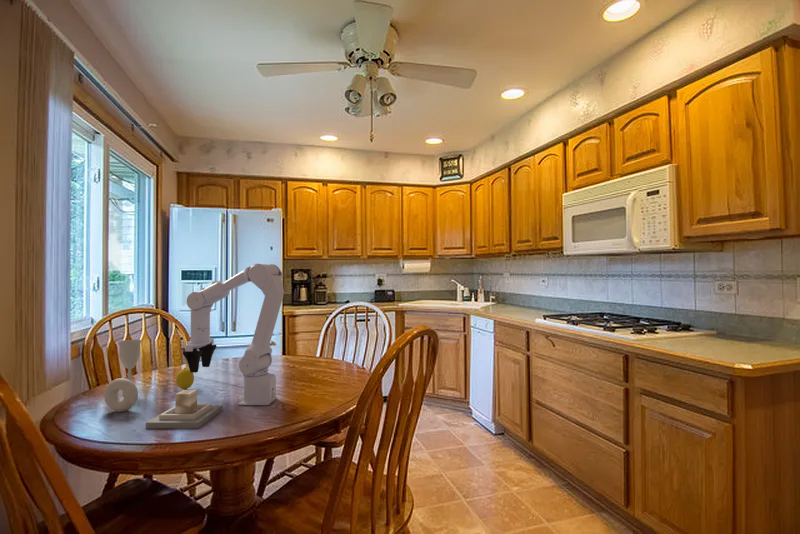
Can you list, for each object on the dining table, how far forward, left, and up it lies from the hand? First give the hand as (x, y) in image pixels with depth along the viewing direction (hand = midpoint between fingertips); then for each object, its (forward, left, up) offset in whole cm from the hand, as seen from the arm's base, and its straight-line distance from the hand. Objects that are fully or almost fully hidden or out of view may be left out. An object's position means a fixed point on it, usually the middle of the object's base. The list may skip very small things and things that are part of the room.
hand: (200, 369), depth 132 cm
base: (-6, +19, -9) cm, 22 cm away
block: (-6, +19, -8) cm, 21 cm away
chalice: (+27, -5, -10) cm, 29 cm away
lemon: (+10, -9, -10) cm, 17 cm away
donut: (+17, +13, -10) cm, 23 cm away
